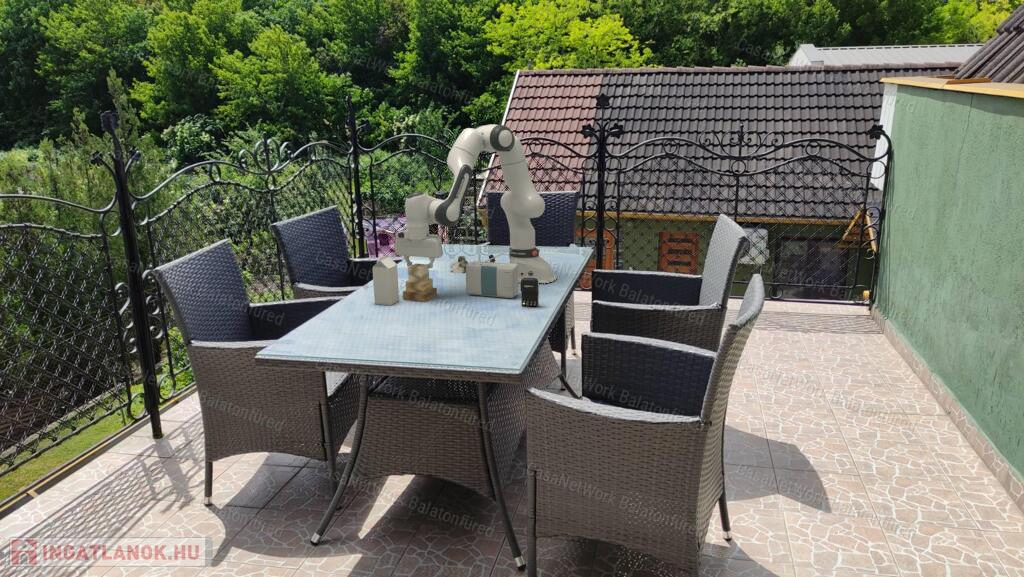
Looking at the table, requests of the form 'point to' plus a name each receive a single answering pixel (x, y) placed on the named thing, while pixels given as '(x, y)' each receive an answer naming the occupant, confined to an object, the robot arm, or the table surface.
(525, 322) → the table surface
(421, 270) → the maple cube
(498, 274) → the stereo radio cassette player
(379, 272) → the milk carton
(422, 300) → the walnut slab
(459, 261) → the artificial flower
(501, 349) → the table surface
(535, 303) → the battery
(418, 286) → the oak slab
